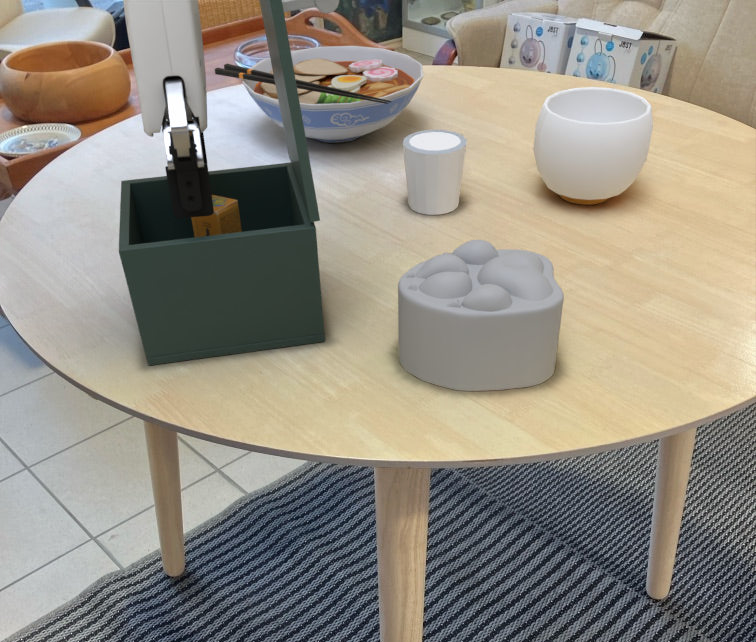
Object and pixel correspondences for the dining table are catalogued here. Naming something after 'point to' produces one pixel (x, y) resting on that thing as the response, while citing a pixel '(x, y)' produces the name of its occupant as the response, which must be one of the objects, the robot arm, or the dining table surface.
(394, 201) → the dining table surface
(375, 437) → the dining table surface
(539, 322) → the lumpy-topped squat cylinder
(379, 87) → the ramen bowl
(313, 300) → the chest
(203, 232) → the supplement box
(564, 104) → the cup
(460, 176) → the shot glass
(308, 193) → the lid
